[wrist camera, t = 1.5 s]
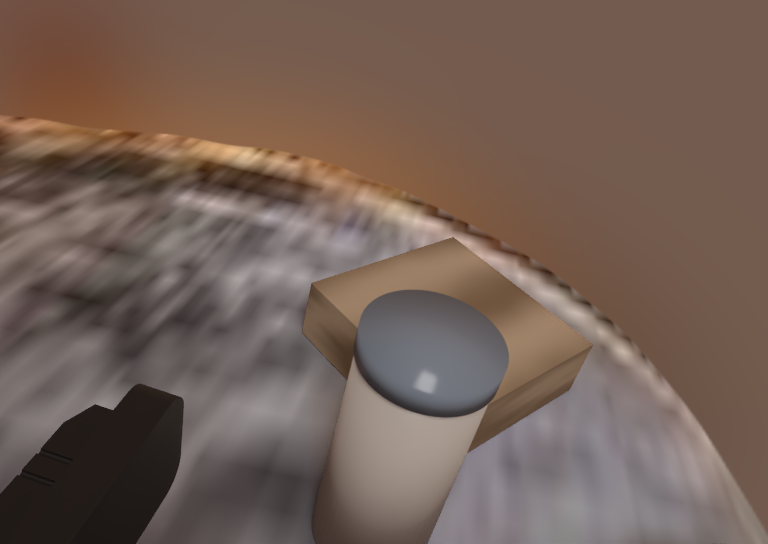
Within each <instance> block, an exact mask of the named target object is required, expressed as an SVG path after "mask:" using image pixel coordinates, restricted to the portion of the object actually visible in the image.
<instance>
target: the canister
mask: <svg viewBox="0 0 768 544" xmlns="http://www.w3.org/2000/svg"><path fill="white" fill-rule="evenodd" d="M353 352H354V356H353V360H352V364H351V368H350V372H349V376H348V380H347V384H346V387H345V391H344V395H343V399H342V403H341V407H340V411H339V415H338V419H337V422H336V426H335V430H334V434H333V438H332V442H331V446H330V450H329V453H328V457H327V461H326V465H325V469H324V473H323V477H322V481H321V485H320V488H319V492H318V496H317V500H316V504H315V508H314V512H313V516H312V532H313V537H314V540H315V543H316V544H427V543H428V541H429V539H430V537H431V534H432V532H433V530H434V527H435V525H436V523H437V521H438V518H439V516H440V514H441V511H442V509H443V507H444V505H445V502H446V500H447V498H448V495H449V493H450V491H451V489H452V486H453V484H454V482H455V479H456V477H457V475H458V473H459V470H460V468H461V466H462V463H463V461H464V459H465V457H466V454H467V452H468V450H469V447H470V445H471V443H472V440H473V438H474V436H475V434H476V431H477V429H478V427H479V424H480V422H481V420H482V418H483V415H484V413H485V411H486V408H487V406H488V404H489V403H490V402H491V401H492V399H493V398H494V397H495V395H496V393H497V391H498V389H499V386H500V384H501V382H502V380H503V377H504V375H505V373H506V370H507V368H508V364H509V352H508V347H507V345H506V342H505V340H504V338H503V336H502V334H501V333H500V331H499V330H498V329H497V327H496V326H495V325H494V324H493V323H492V322H491V321H490V320H489V319H488V318H487V317H486V316H485V315H483V314H482V313H481V312H479V311H478V310H477V309H475V308H473V307H472V306H470V305H468V304H466V303H465V302H463V301H460V300H458V299H456V298H453V297H451V296H448V295H445V294H441V293H437V292H432V291H426V290H399V291H394V292H390V293H387V294H384V295H382V296H380V297H378V298H376V299H375V300H373V301H372V302H371V303H370V304H368V305H367V307H366V308H365V309H364V311H363V313H362V315H361V318H360V321H359V325H358V329H357V333H356V337H355V341H354V347H353Z"/></svg>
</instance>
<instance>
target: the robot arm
mask: <svg viewBox="0 0 768 544" xmlns="http://www.w3.org/2000/svg"><path fill="white" fill-rule="evenodd" d="M183 410H184V402H183V399H182V398H181V397H179V396H176V395H173V394H170V393H167V392H164V391H161V390H158V389H155V388H152V387H149V386H146V385H143V384H137V385H135V386H134V387H133V388H131V390H130V391H129V392H128V393H127V394H126V395H125V397H124V398H123V399H122V400H121V402H120V403H119V404H118V405H117V406H116V408H115V409H114V410H110V409H107V408H104V407H101V406H98V405H96V404H95V405H93V406H92V407H90V408H88V409H86V410H85V411H83V412H81V413H79V414H78V415H76V416H74V417H73V418H71V419H69V420H67V421H66V422H64V423H63V424H62V425H61V426H60V427H59V429H58V430H57V431H56V432H55V433H54V434H53V435H52V436H51V438H50V439H49V440H48V441H47V442H46V443H45V444H44V445H43V447H42V448H41V451H40V453H39V454H36V455H35V456H34V457H33V458H32V459H31V460H30V461H29V462H28V464H27V465H26V466H25V467H24V468H23V469H22V472H21V474H20V475H19V476H18V475H17V476H16V477H15V478H14V479H13V481H12V482H11V483H10V484H9V485H8V486H7V487H6V488H5V490H4V491H3V492H2V493H1V494H0V544H136V543H137V541H138V539H139V538H140V536H141V535H142V533H143V532H144V530H145V528H146V527H147V525H148V524H149V522H150V520H151V519H152V517H153V516H154V514H155V512H156V511H157V509H158V508H159V506H160V504H161V503H162V501H163V500H164V498H165V496H166V495H167V493H168V491H169V489H170V487H171V485H172V483H173V481H174V478H175V476H176V473H177V470H178V467H179V463H180V456H181V441H182V425H183Z"/></svg>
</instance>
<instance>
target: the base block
mask: <svg viewBox="0 0 768 544" xmlns="http://www.w3.org/2000/svg"><path fill="white" fill-rule="evenodd" d="M399 290H426V291H432V292H437V293H441V294H445V295H448V296H451V297H453V298H456V299H458V300H460V301H463V302H465V303H466V304H468V305H470V306H472V307H473V308H475V309H477V310H478V311H479V312H481V313H482V314H483V315H485V316H486V317H487V318H488V319H489V320H490V321H491V322H492V323H493V324H494V325H495V326H496V327H497V329H498V330H499V331H500V333H501V334H502V336H503V338H504V340H505V342H506V345H507V347H508V352H509V364H508V368H507V370H506V373H505V375H504V377H503V380H502V382H501V384H500V386H499V389H498V391H497V393H496V395H495V397H494V398H493V399H492V401H491V402H490V403H489V404H488V406H487V408H486V411H485V413H484V415H483V418H482V420H481V422H480V424H479V427H478V429H477V431H476V434H475V436H474V438H473V440H472V443H471V445H470V447H469V450H468V452H470V451H471V450H473V449H475V448H476V447H478V446H479V445H481V444H483V443H484V442H486V441H487V440H489V439H491V438H492V437H494V436H495V435H497V434H499V433H500V432H502V431H504V430H505V429H507V428H508V427H510V426H512V425H513V424H515V423H516V422H518V421H520V420H521V419H523V418H524V417H526V416H528V415H529V414H531V413H533V412H534V411H536V410H537V409H539V408H541V407H542V406H544V405H545V404H547V403H549V402H550V401H552V400H553V399H555V398H557V397H558V396H560V395H562V394H563V393H565V392H566V391H568V390H569V389H570V388H571V386H572V384H573V382H574V380H575V378H576V376H577V374H578V372H579V370H580V369H581V367H582V365H583V363H584V361H585V359H586V357H587V355H588V353H589V351H590V350H591V348H592V346H593V345H592V344H591V343H590V342H589V341H587V340H586V339H585V338H583V337H582V336H581V335H580V334H578V333H577V332H576V331H574V330H573V329H572V328H570V327H569V326H568V325H567V324H565V323H564V322H563V321H561V320H560V319H559V318H557V317H556V316H555V315H554V314H552V313H551V312H550V311H548V310H547V309H546V308H544V307H543V306H542V305H541V304H539V303H538V302H537V301H535V300H534V299H533V298H531V297H530V296H529V295H528V294H526V293H525V292H524V291H522V290H521V289H520V288H519V287H517V286H516V285H515V284H513V283H512V282H511V281H509V280H508V279H507V278H506V277H504V276H503V275H502V274H500V273H499V272H498V271H496V270H495V269H494V268H493V267H491V266H490V265H489V264H487V263H486V262H485V261H483V260H482V259H481V258H480V257H478V256H477V255H476V254H474V253H473V252H472V251H471V250H469V249H468V248H467V247H465V246H464V245H463V244H461V243H460V242H459V241H458V240H456V239H455V238H454V237H452V238H449V239H446V240H443V241H440V242H437V243H434V244H431V245H428V246H425V247H422V248H418V249H415V250H412V251H409V252H406V253H403V254H400V255H397V256H394V257H391V258H388V259H385V260H382V261H378V262H375V263H372V264H369V265H366V266H363V267H360V268H357V269H354V270H351V271H348V272H345V273H342V274H338V275H335V276H332V277H329V278H326V279H323V280H320V281H317V282H314V283H311V289H310V294H309V299H308V304H307V309H306V315H305V320H304V325H303V330H302V333H303V334H304V335H305V336H306V337H307V338H308V339H309V340H310V341H311V342H312V343H313V344H314V345H315V346H316V348H317V349H318V350H319V351H320V352H321V353H322V354H323V355H324V356H325V357H326V358H327V359H328V360H329V361H330V362H331V363H332V364H333V365H334V367H335V368H336V369H337V370H338V371H339V372H340V373H341V374H342V375H343V376H344V377H345V378H346V379H347V380H348V376H349V372H350V368H351V364H352V360H353V356H354V352H353V347H354V341H355V337H356V333H357V329H358V325H359V321H360V318H361V315H362V313H363V311H364V309H365V308H366V307H367V305H368V304H370V303H371V302H372V301H373V300H375V299H376V298H378V297H380V296H382V295H384V294H387V293H390V292H394V291H399ZM468 452H467V453H468Z"/></svg>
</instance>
